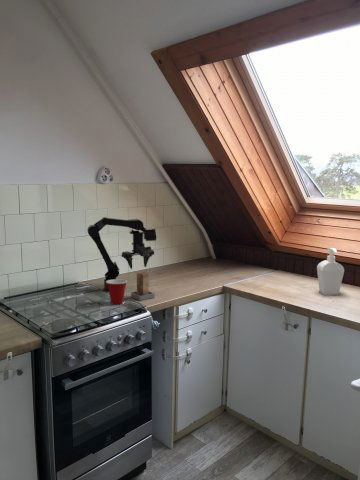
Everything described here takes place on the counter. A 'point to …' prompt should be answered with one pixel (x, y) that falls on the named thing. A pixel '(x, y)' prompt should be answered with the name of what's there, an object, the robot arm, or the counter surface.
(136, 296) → the tray
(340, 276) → the soap bottle
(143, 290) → the walnut block
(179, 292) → the counter surface
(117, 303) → the plastic cup
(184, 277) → the counter surface
